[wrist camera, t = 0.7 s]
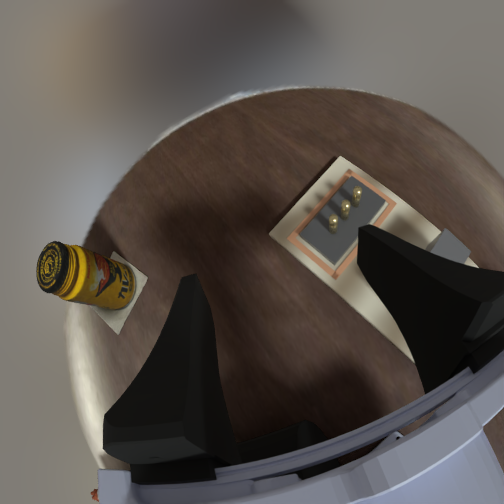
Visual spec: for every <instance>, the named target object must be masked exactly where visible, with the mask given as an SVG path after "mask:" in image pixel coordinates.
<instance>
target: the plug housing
mask: <svg viewBox="0 0 504 504" xmlns="http://www.w3.org/2000/svg"><path fill="white" fill-rule="evenodd" d="M425 250H426V251H429V252H431V253H433V254H436V255H438V256H441V257H444V258H447V259H449V260H452V261H455V262H459V263H462V264H464V263H465V262H466V260H467V258H468V256H469V254H470V252H471V251H470V250H469V249H468V248H467V247H466V246H465V245H464V244H463V243H461V242H460V241H459V240H458V239H457V238H456V237H455V236H454V235H453V234H452V233H451V232H449V231H448V230H447V229H446V228H445V229H444V230H443V231H442V232H441V233H440V234H439V235H438V236H437V237H436V238H435V239H434V240H433V241H432V242H431V243H429V244H428V246H427V247H426V249H425Z"/></svg>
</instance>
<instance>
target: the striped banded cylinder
mask: <svg viewBox="0 0 504 504" xmlns="http://www.w3.org/2000/svg"><path fill="white" fill-rule="evenodd" d="M327 440H328V439H327V438H326V436H325V435H324V434H323V432H322V431H321V430H320V429H319V428H318V427H317V426H316V425H315V424H314V423H313V422H310V421H307V420H304V421H301V422H299V423H296V424H294V425H291V426H289V427H286V428H283V429H280V430H278V431H275V432H272V433H269V434H266V435H263V436H260V437H257V438H254V439H251V440H247V441H244V442H241V443H237V447H238V450H239V453H240V457H241V460H242V462H243V463H242V464H245V463H249V462H254V461H259V460H263V459H267V458H271V457H275V456H279V455H283V454H286V453H290V452H293V451H297V450H300V449H303V448H306V447H310V446H313V445H316V444H319V443H322V442H324V441H327ZM338 467H340V464H339V462H338V459H337V458H334V459H331V460H329V461H326V462H323V463H320V464H317V465H314V466H311V467H308V468H304V469H301V470H298V471H294V472H291V473H287V474H283V475H279V476H275V477H280V476H285V475H290V474H297V475H298V478H300V479H301V480H305V479H308V478H311V477H314V476H317V475H320V474H322V473H325V472H328V471H330V470H333V469H335V468H338ZM271 478H274V477H271ZM267 479H268V478H267ZM262 480H263V479H262ZM91 495H93V497H92V498H93V499H94V500H97V501H98V502H99V491H98V489H94V491H93V492H91Z"/></svg>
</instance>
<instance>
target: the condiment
mask: <svg viewBox="0 0 504 504" xmlns="http://www.w3.org/2000/svg"><path fill="white" fill-rule="evenodd" d="M147 278H148V277H147V276H145V275H144V274H143V273H142V272H140V271H139V270H138V269H136V268H135V267H134V266H132V265H131V264H130V263H129V262H127V261H126V260H125V259H123V258H122V257H121V256H119V255H118V254H117V253H116V252H113V253H112V255H111V257H110V258H108V257H105V256H103V255H100V254H97V253H95V252H92V251H89V250H87V249H85V248H83V247H81V246H78V245H71V246H69V245H67V244H63V243H61V242H57V241H54V242H51V243H49V244H47V245H46V247H45V248H44V249H43V251H42V252H41V254H40V256H39V259H38V262H37V281H38V284H39V286H40V288H41V289H42V290H43V291H45V292H47V293H52V294H54V295H57V296H59V297H60V298H61V299H63V300H66V301H70V302H75V303H80V304H86V305H89V306H90V307H91V308H92V309H93V310H94V311H95V312H96V313H97V314H98V315H99V316H100V317H101V318H102V319H103V320H104V321H105V322H106V323H107V324H108V325H109V326H110V327H111V328H112V329H113V330H114V331H115V332H116V333H117V334H118V335H119V333H120V330H121V329H122V327H123V325H124V322H125V321H126V319H127V317H128V314H129V313H130V311H131V309H132V308H133V306H134V304H135V302H136V300H137V298H138V296H139V294H140V293H141V291H142V288H143V287H144V285H145V283H146V281H147Z"/></svg>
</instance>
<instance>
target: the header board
mask: <svg viewBox="0 0 504 504" xmlns="http://www.w3.org/2000/svg"><path fill="white" fill-rule="evenodd" d="M368 224H371V225H374V226H376V227H378V228H380V229H383V230H385V231H387V232H389V233H391V234H393V235H395V236H397V237H399V238H401V239H403V240H405V241H407V242H409V243H411V244H413V245H415V246H417V247H420V248H422V249H424V250H425V249H426V247H427V246H428V244H429V243H431V242H432V241H433V240H434V239H435V238H436V237H437V236H438V235H439V234H440V233H441V231H439V230H438V229H437V228H436V227H435V226H434V225H432V224H431V223H430V222H429V221H428V220H427V219H425V218H424V217H423V216H422V215H421V214H419V213H418V212H417V211H416V210H414V209H413V208H412V207H411V206H409V205H408V204H407V203H406V202H404V201H403V200H402V199H400V198H399V197H398V196H397V195H395V194H394V193H393V192H391V191H390V190H389V189H387V188H386V187H385V186H383V185H382V184H380V183H379V182H378V181H376V180H375V179H373V178H372V177H371V176H369V175H368V174H366V173H365V172H363V171H362V170H361V169H359V168H358V167H356V166H355V165H353V164H352V163H350V162H349V161H347V160H346V159H344V158H343V157H341V156H340V157H339V158H338V159H337V160H336V161H335V162H334V163H333V164H332V165H331V166H330V167H329V169H328V170H327V171H326V172H325V173H324V174H323V175H322V176H321V177H320V178H319V179H318V181H317V182H316V183H315V184H314V185H313V186H312V187H311V188H310V189H309V190H308V191H307V193H306V194H305V195H304V196H303V197H302V198H301V199H300V200H299V201H298V202H297V203H296V204H295V206H294V207H293V208H292V209H291V210H290V211H289V212H288V213H287V214H286V215H285V216H284V218H283V219H282V220H281V221H280V222H279V223H278V224H277V225H276V226H275V227H274V228H273V230H272V231H271V232H270V233H269V235H270V237H271V238H272V239H273V240H275V241H276V242H277V243H278V244H279V245H281V246H282V247H283V248H284V249H285V250H286V251H288V252H289V253H290V254H291V255H292V256H293V257H295V258H296V259H297V260H298V261H299V262H300V263H302V264H303V265H304V266H305V267H306V268H307V269H309V270H310V271H311V272H312V273H313V274H314V275H315V276H317V277H318V278H319V279H320V280H321V281H322V282H324V283H325V284H326V285H327V286H328V287H329V288H330V289H332V290H333V291H334V292H335V293H336V294H337V295H338V296H340V297H341V298H342V299H343V300H344V301H345V302H346V303H347V304H349V305H350V306H351V307H352V308H353V309H354V310H355V311H356V312H358V313H359V314H360V315H361V316H362V317H363V318H364V319H365V320H367V321H368V322H369V323H370V324H371V325H372V326H373V327H374V328H375V329H377V330H378V331H379V332H380V333H381V334H382V335H383V336H384V337H385V338H387V339H388V340H389V341H390V342H391V343H392V344H393V345H394V346H395V347H396V348H397V349H399V350H400V351H401V352H402V353H403V354H404V355H405V356H406V357H407V358H408V359H409V360H411V361H412V362H413V363H414V364H415V362H414V360H413V357H412V355H411V352H410V350H409V348H408V346H407V344H406V341H405V339H404V337H403V335H402V333H401V331H400V329H399V328H398V326H397V324H396V322H395V320H394V319H393V317H392V316H391V314H390V313H389V311H388V310H387V308H386V307H385V306H384V304H383V303H382V302H381V300H380V299H379V297H378V296H377V295H376V293H375V292H374V290H373V289H372V288H371V286H370V285H369V284H368V282H367V281H366V279H365V277H364V275H363V274H362V272H361V270H360V268H359V266H358V264H357V248H358V227H361V226H364V225H368ZM464 264H465V265H469V266H473V267H477V268H479V267H478V266H477V265H476V264H475V263H474V262H473V261H472V260H471V259H470V258H469V257H468V258H467V260H466V262H465V263H464Z"/></svg>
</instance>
